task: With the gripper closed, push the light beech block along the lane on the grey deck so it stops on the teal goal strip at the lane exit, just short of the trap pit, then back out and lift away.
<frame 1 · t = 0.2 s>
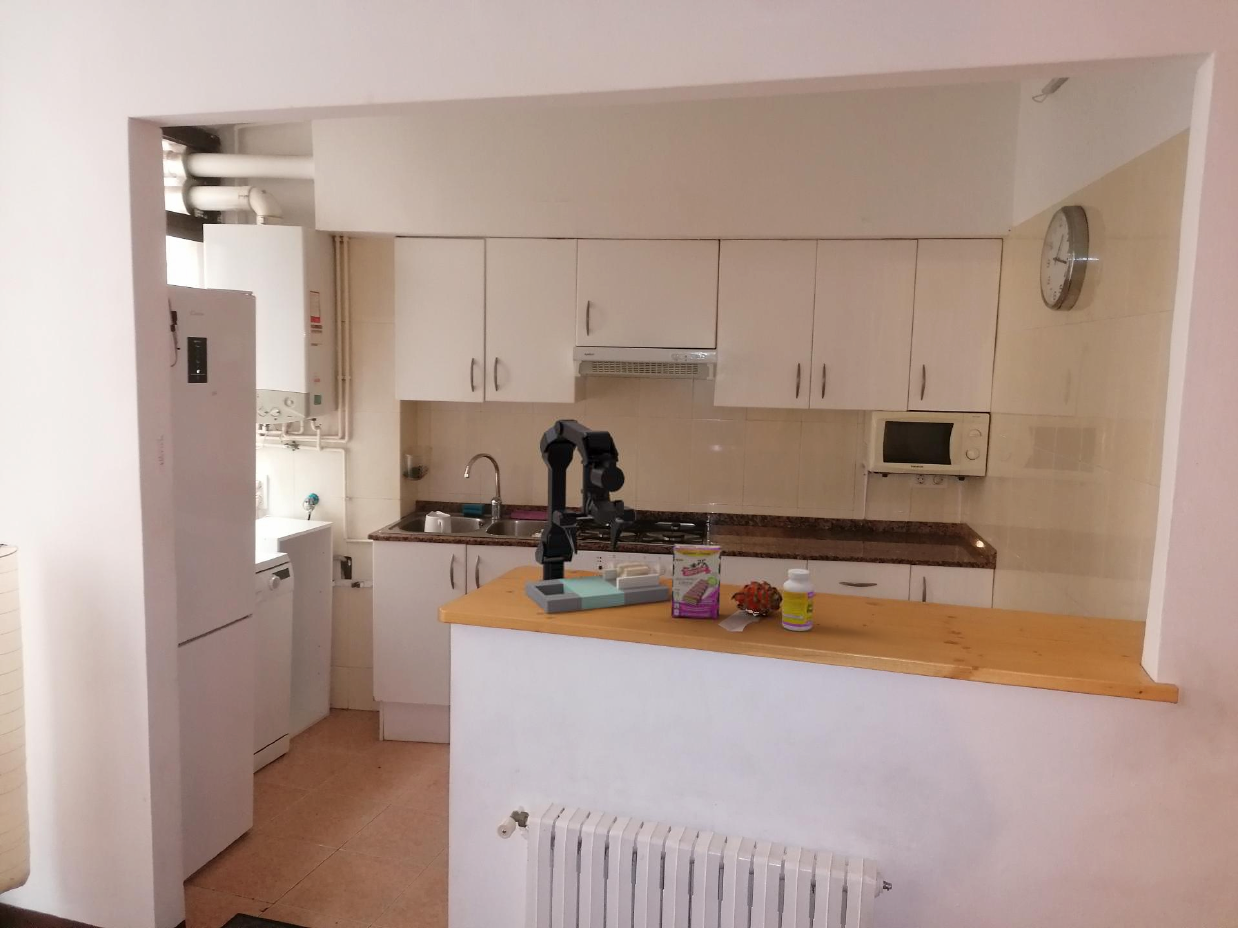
hand: (594, 552, 201), 14 cm above the countertop, tool pointing down, fingers open, 9 cm apart
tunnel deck: (595, 596, 216), on the countertop
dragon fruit: (756, 614, 203), on the countertop
candy bar box: (695, 616, 202), on the countertop
beech block: (632, 581, 220), point 3 cm above the countertop, touching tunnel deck
supplement bottle: (796, 628, 193), on the countertop
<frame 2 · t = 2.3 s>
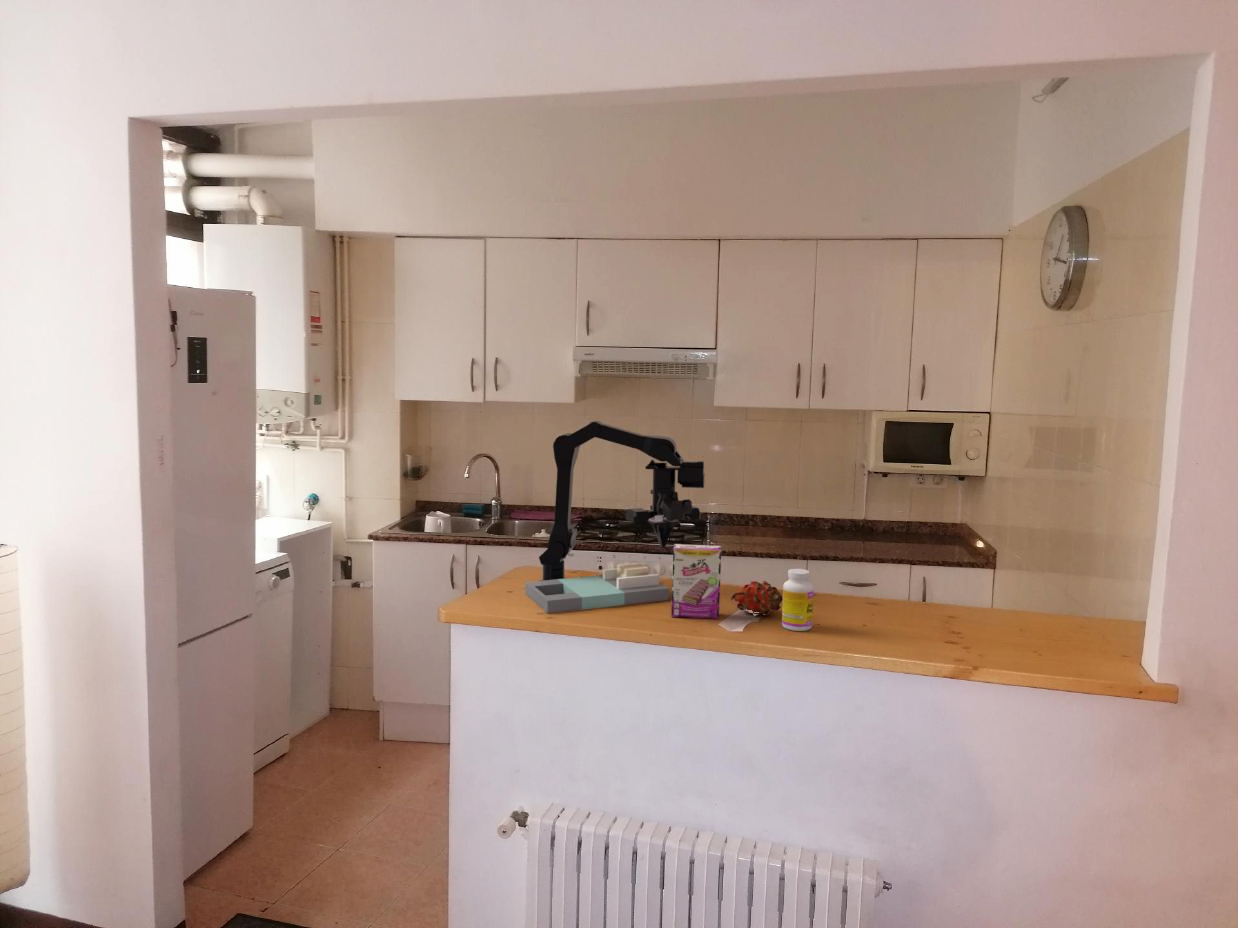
hand: (662, 547, 222), 11 cm above the countertop, tool pointing down, fingers closed
nothing on the countertop moved.
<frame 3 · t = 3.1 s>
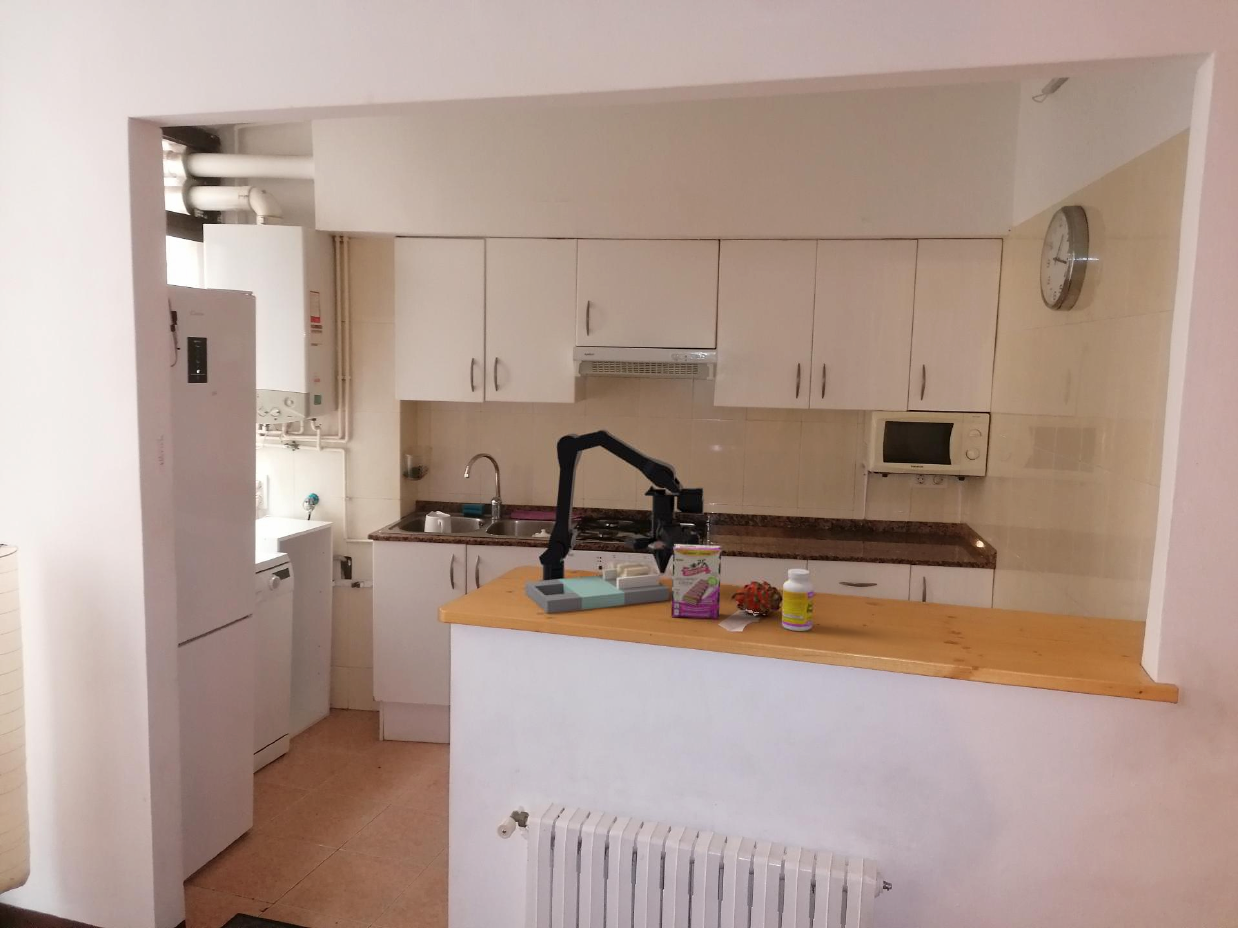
hand: (662, 572, 223), 4 cm above the countertop, tool pointing down, fingers closed
nothing on the countertop moved.
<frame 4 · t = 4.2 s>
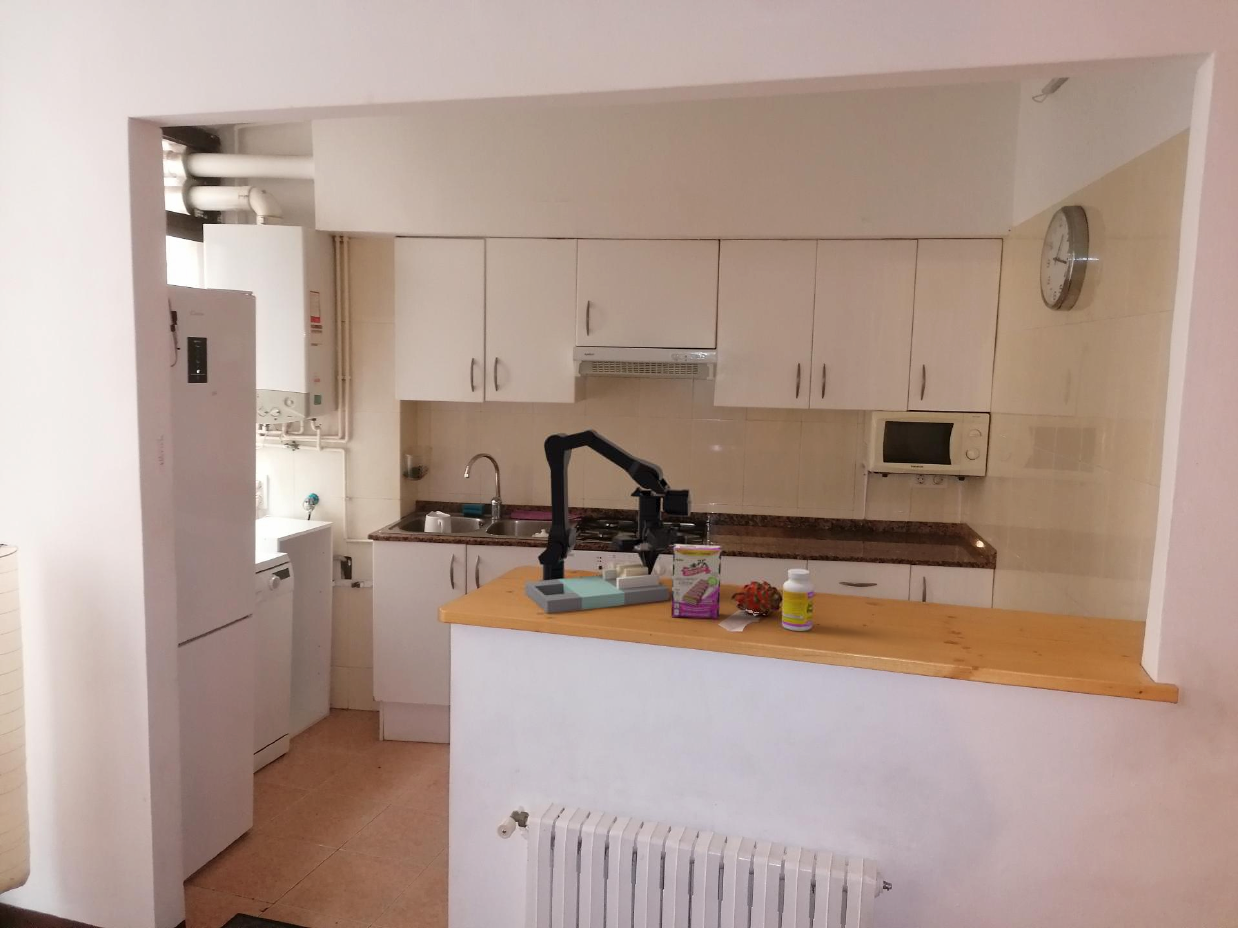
hand: (648, 574, 222), 4 cm above the countertop, tool pointing down, fingers closed
beech block: (632, 581, 220), point 3 cm above the countertop, touching gripper, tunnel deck
everything else where it was.
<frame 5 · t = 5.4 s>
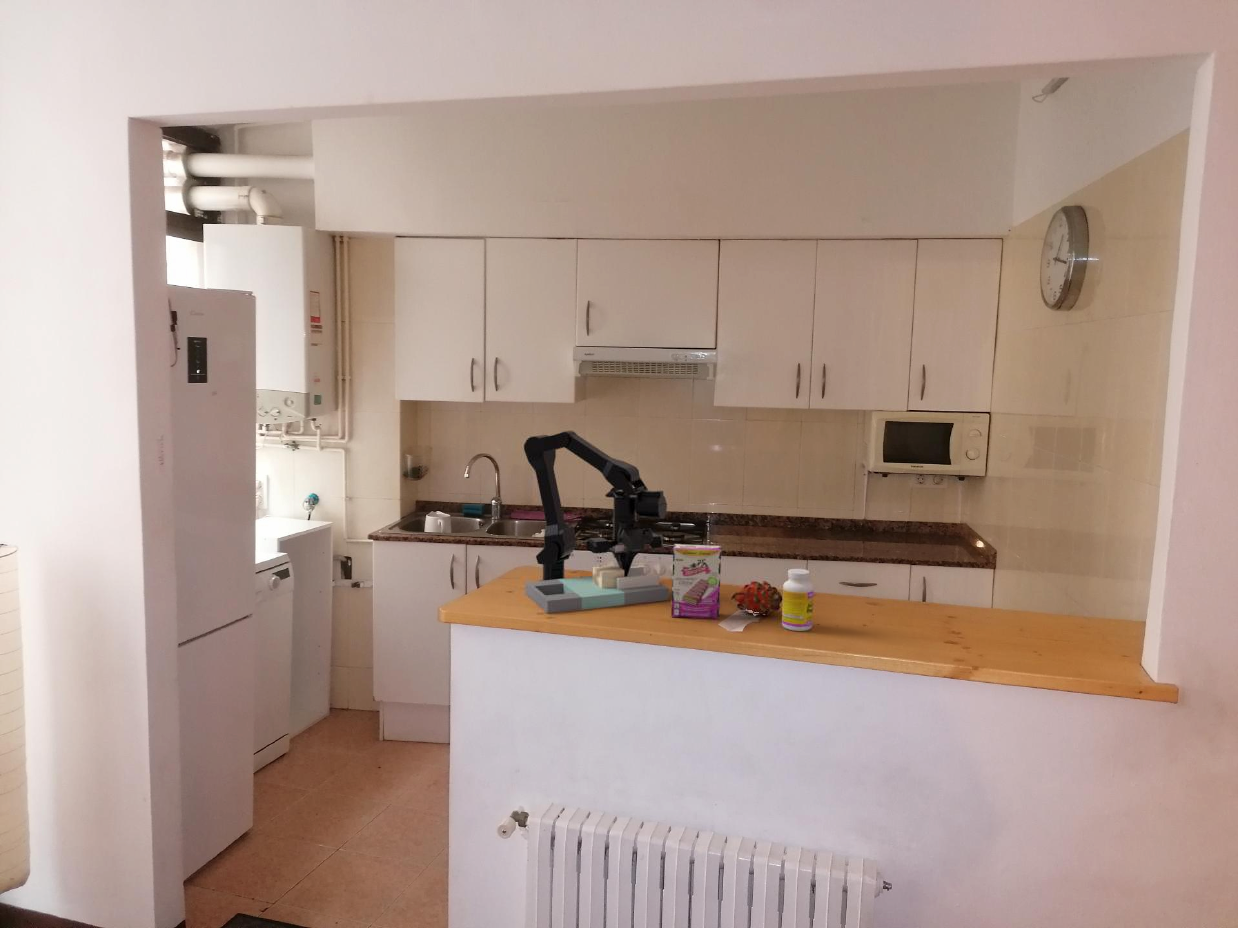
hand: (624, 576, 219), 5 cm above the countertop, tool pointing down, fingers closed
beech block: (608, 584, 217), point 3 cm above the countertop, touching gripper, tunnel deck
everything else where it was.
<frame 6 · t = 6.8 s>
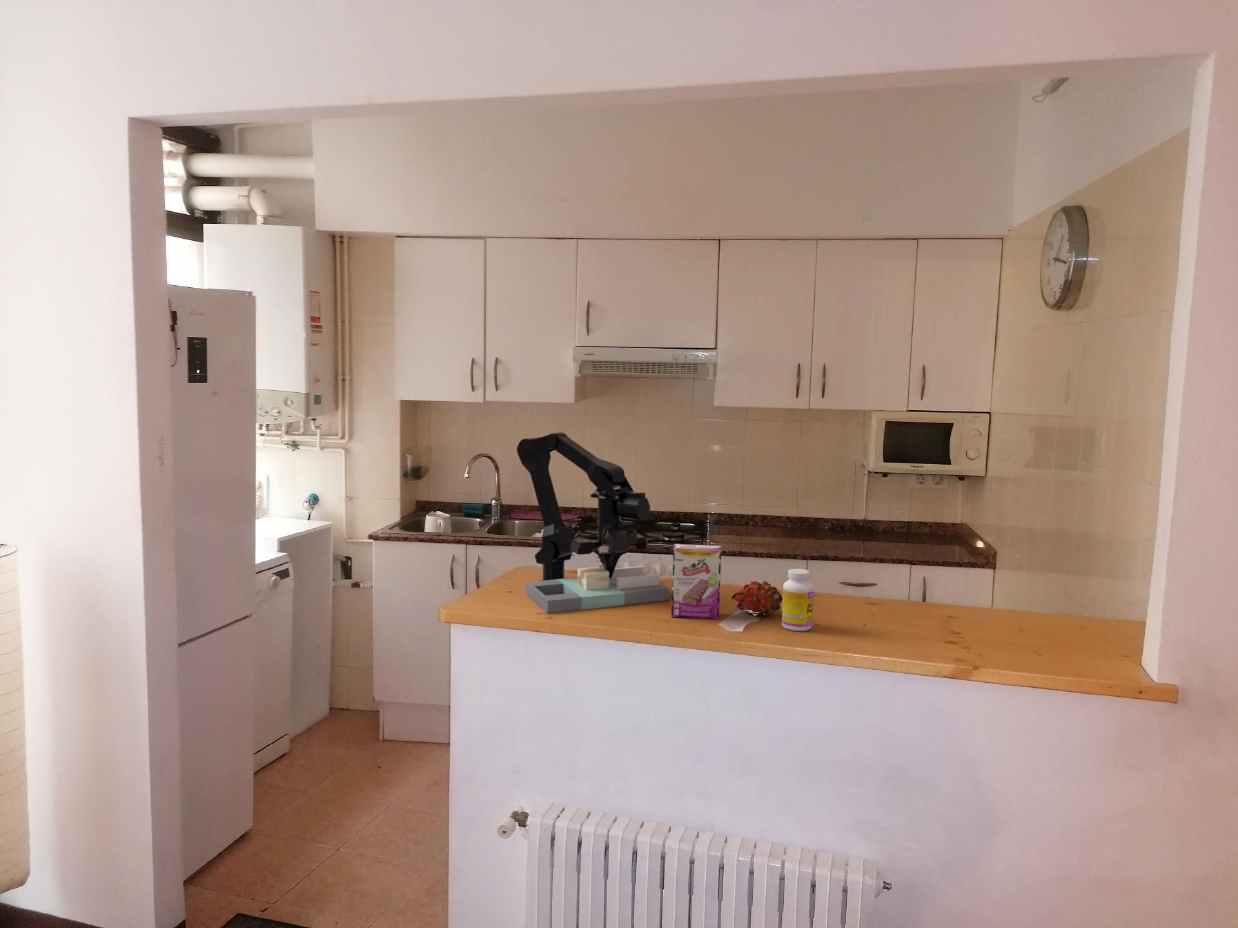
hand: (609, 577, 217), 5 cm above the countertop, tool pointing down, fingers closed
beech block: (593, 586, 215), point 3 cm above the countertop, touching gripper, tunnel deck
everything else where it was.
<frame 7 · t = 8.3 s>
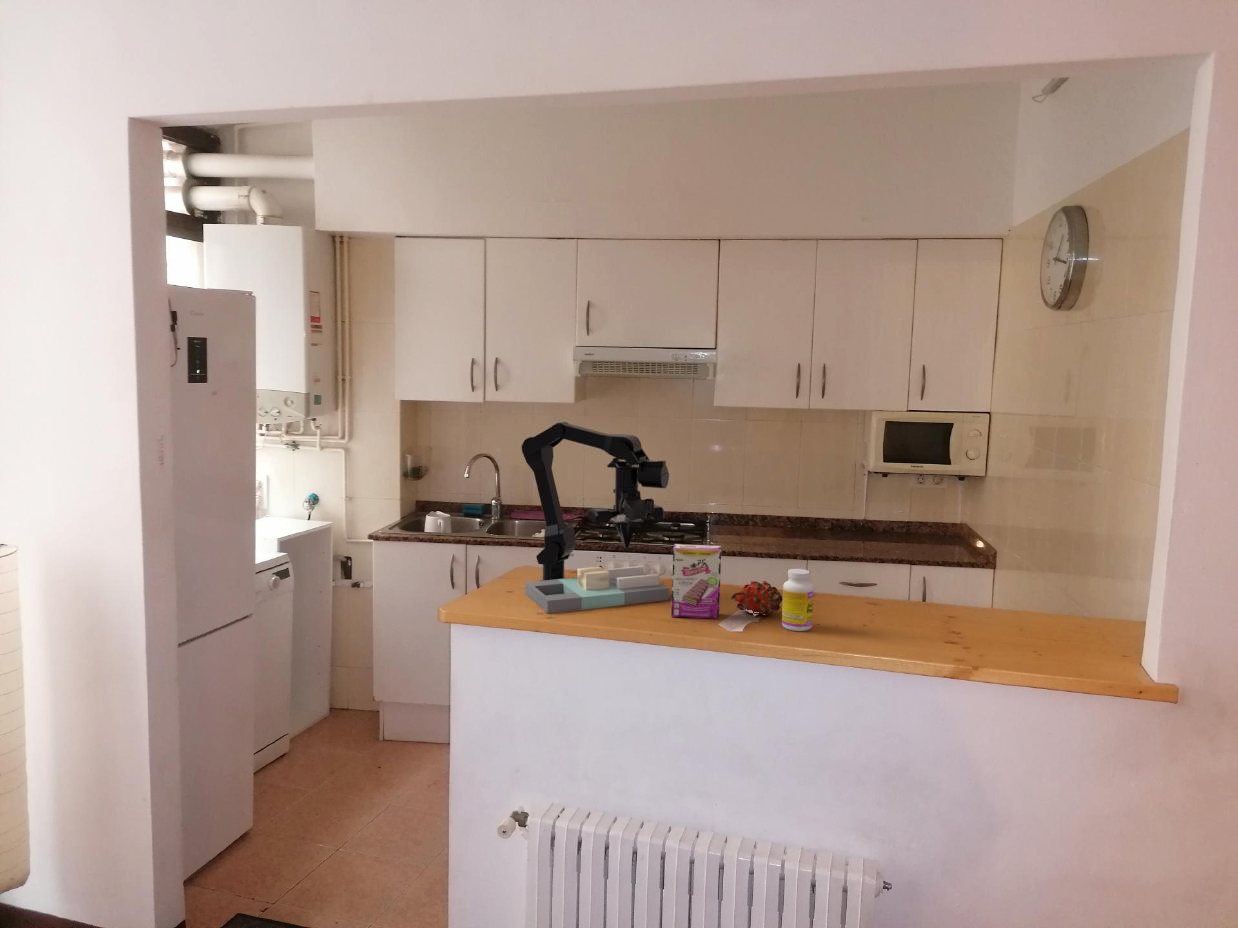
hand: (626, 547, 219), 12 cm above the countertop, tool pointing down, fingers closed
beech block: (593, 586, 215), point 3 cm above the countertop, touching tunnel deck
everything else where it was.
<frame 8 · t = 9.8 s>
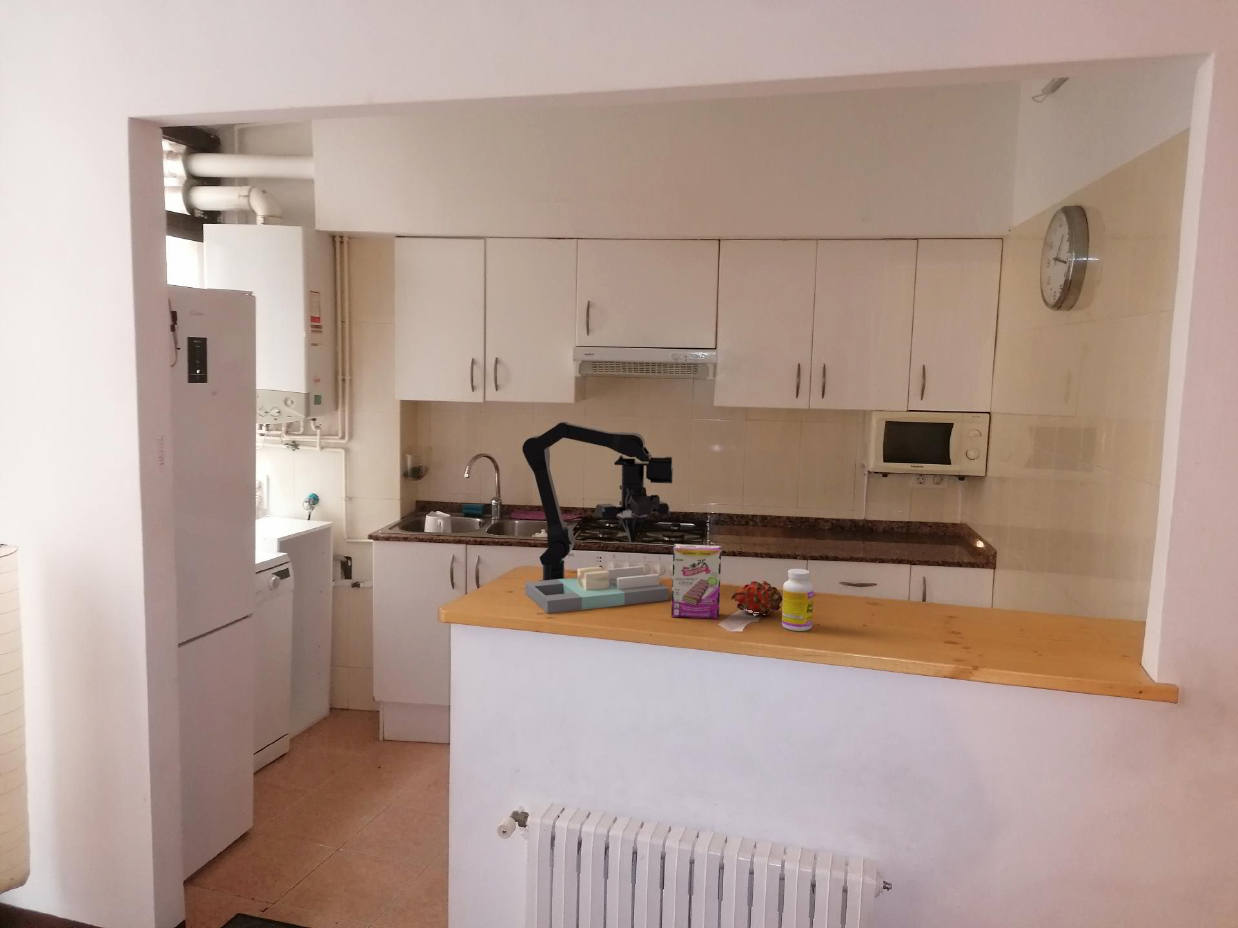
hand: (632, 542, 224), 12 cm above the countertop, tool pointing down, fingers closed
nothing on the countertop moved.
at the end: beech block 0.7 cm from the target spot, point 3.0 cm above the countertop; beech block tilted 0°; beech block moved 10.9 cm from its start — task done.
